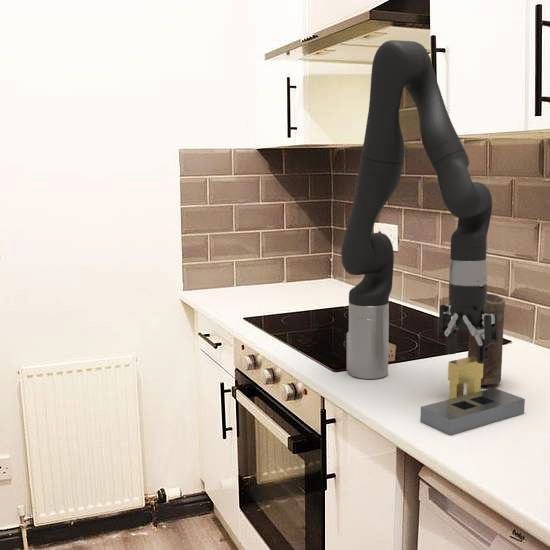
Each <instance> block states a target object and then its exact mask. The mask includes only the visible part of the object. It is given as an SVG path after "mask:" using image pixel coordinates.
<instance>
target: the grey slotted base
mask: <svg viewBox="0 0 550 550" xmlns="http://www.w3.org/2000/svg"><path fill="white" fill-rule="evenodd" d="M525 404H526V401H525V398H523V397H521V396H518V395H515V394H513V393H509V392H507V391H504V390H501V389H498V388H496V387H490V388H486V389H483V390H481V391H479V392H475V393H471V394H468V395H467V394H465V395H464V394H463V396H460V397H456V398H452V399H446V400H445V399H444V400H441V401H438V402H433V403H430V404H426V405H423V406H420V422H421V423H423V424H425V425H428V426H430V427H431V428H432V429H436V430H437V431H440V432H442V433H444V434H447V435H448V436H454V435H456V434H459V433H462V432H463V433H464V432H466V431H469V430H473V429H476V428H479V427H482V426H486V425H490V424H493V423H496V422H499V421H503V420H506V419H510V418H512V417H513V418H514V417H516V416H519V415H523V414H525Z"/></svg>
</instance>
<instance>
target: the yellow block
mask: <svg viewBox="0 0 550 550" xmlns="http://www.w3.org/2000/svg"><path fill="white" fill-rule="evenodd" d="M447 366H448V369H447V370H448V372H447V374H448V375H447V381H449V393H448V395H449V397H448V398H449V399H452V398H456V397H460V396H464V391H465V390H464V389H465V386H464V385H465V383H466V395H468V394H471V393H475V392H479V391H482V389H481V388H482V387H481V386H482V385H481V378H483V363H482V364H480V363H477V357H474V356H472V357H468V356H467V357H464V358H459V359H454V360H450V361H448V365H447ZM449 399H448V400H449Z"/></svg>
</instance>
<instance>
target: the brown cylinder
mask: <svg viewBox="0 0 550 550" xmlns="http://www.w3.org/2000/svg"><path fill="white" fill-rule="evenodd" d="M505 303H506V300H505V299H504V298H503V297H500V296H498V295H496V294H492V293H487V302H486V304H485V306H484V311H485V314H494V313H495V314H496V315H497V326H498V342H497V343H493V344H490V345H489V359H488V360H487V362H486V363H483V378H481V386H487V387H490V386H491V387H492V386H496V385H498V384H499V383H500V382H501V380H502V363H503V347H504V346H503V345H504V341H503V340H504V325H505V323H504V321H505ZM477 330H480V328H478V329H477ZM468 334H469V335H468V347H467V348H468V349H467V357H472V356H474V357H477V346H478V343H477V341H476V339H475V337H474V336H472V335H471V333H470V331H468ZM481 337H482V336H481ZM491 338H492V335H491ZM482 339H483V337H482Z"/></svg>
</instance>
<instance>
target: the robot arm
mask: <svg viewBox="0 0 550 550" xmlns="http://www.w3.org/2000/svg"><path fill="white" fill-rule="evenodd" d="M370 76H371V77H370V87H369V88H370V89H369V91H370V92H369V103H368V113H367V118H366V124H365V125H366V128H365V134H364V137H363V138H364V140H363V145H362V149H361V155H360V161H359V166H358V173H357V174H358V175H357V180H356V187H355V191H354V196H353V200H352V201H353V202H352V206H351V209H350V210H351V212H350V215H349V219H348V221H347V222H348V223H347V226H346V230H345V232H344V237H343V241H342V246H341V253H340V254H341V255H340V256H341V264H342V267H343V269H344V270H345V272H346V273H347V274H349V275H351V276H361V275H363V278H362V280H361V281H360V282H359V283H357V285H355V286H354V287H351V288H350V290H349V292H348V331H347V333H346V371H347V372H348V375H350V376H352V377H353V378H358V379H363V380H364V379H365V380H374V379H375V380H376V379H382V378H385V377H387V376H388V375H389V327H390V326H389V325H390V324H389V316H390V313H389V311H390V310H389V309H390V307H389V306H390V305H389V304H390V302H389V301H390V300H389V299H390V295H391V292H392V289H393V279H394V278H393V277H394V264H395V263H394V261H395V260H394V259H395V257H394V256H395V253H394V247H393V242H392V240H391V239H390V238H389V236H388V235H386V233H383V232H373V229H374V225H375V222H376V220H377V217H378V216H379V214H380V212H381V211H382V209H383V208H384V206H385V205H386V204H387V203H388V201H389V199H390V198H391V197H392V196H393V195H394V193H395V191H396V190H397V188H398V186H399V183H400V181H401V176H402V172H403V166H404V161H405V155H406V152H405V151H406V148H405V147H406V146H405V142H404V135H403V132H402V128H401V123H400V110H401V109H400V108H401V103H402V102H401V101H402V96H403V93H404V89H405V90H407V93H409V95H410V97H411V99H412V100H413V102H414V104H415V108H416V110H417V114H418V120H419V133H420V138H421V143H422V145H423V149H424V151H425V153H426V155H427V157H428V159H429V162H430V164H431V166H432V168H433V170H434V172H435V173H436V177H437V182H438V186H439V190H440V193H441V197H442V200H443V203H444V206H445V207H446V209H447V210H448V211H449V213H450V214H451V215H452V216H454V217H455V218H458V219H457V227H456V230H454V231H453V232H452V234H451V237H450V252H449V253H450V255H449V256H450V261H449V269H448V303H444V304H440V305H439V311H438V313H439V315H438V317H439V318H438V331H439V332H440V333H443V334H444V336H445V342H446V343H445V349H446V353H447V354H448V355H455V354H457V352H458V336H457V334H458V333H459V331H460V330H465V331H466V332H469V331H470V333H471V335H472V336H474V337H475V339H476V341H477V343H478V346H477V363H480V364H482V363H486V362H487V360H488V359H489V345H490V344H493V343H497V342H498V326H497V315H496V314H495V313H494V314H485V311H484V306H485V304H486V302H487V294H488V266H487V237H488V236H487V235H488V231H489V227H490V222H491V217H492V210H493V197H492V194H491V191H490V189H489V187H487V185H486V184H484V183H482V182H479V181H472V178H471V174H470V173H469V170H468V167H469V165H470V160H469V156H468V154H467V151H466V149H465V147H464V145H463V144H462V141H461V139H460V137H459V135H458V133H457V131H456V129H455V127H454V125H453V122H452V120H451V117H450V116H449V113H448V111H447V108H446V105H445V101H444V98H443V96H442V92H441V89H440V86H439V83H438V79H437V76H436V72H435V70H434V66H433V63H432V60H431V57H430V54H429V53H428V50H427V49H426V48H425V46H424V45H422V44H421V43H420V42H417V41H412V40H397V39H395V40H394V39H393V40H391V39H390V40H387V41H385V42H383V43H382V44H381V45H380V46H379V47H378V49H377V50H376V52H375V54H374V56H373V61H372V66H371V74H370ZM478 328H480V330H477V329H478ZM491 335H492V338H491ZM481 336H482V337H483V339H482V337H481Z"/></svg>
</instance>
